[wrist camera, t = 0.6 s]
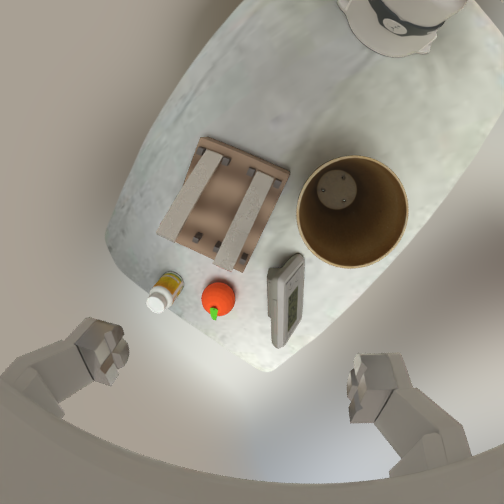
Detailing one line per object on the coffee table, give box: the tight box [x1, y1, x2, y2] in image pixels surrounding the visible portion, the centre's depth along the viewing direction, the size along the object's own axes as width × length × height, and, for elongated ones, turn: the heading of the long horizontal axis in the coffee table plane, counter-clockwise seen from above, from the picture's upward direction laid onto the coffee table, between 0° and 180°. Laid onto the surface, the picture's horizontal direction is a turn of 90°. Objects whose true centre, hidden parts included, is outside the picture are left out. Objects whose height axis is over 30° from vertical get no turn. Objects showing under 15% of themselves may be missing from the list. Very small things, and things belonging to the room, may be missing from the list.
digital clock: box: [267, 254, 304, 349], centre depth 52 cm, size 16×9×11 cm, turn 171°
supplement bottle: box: [147, 272, 184, 313], centre depth 56 cm, size 5×5×10 cm
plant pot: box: [296, 155, 408, 269], centre depth 40 cm, size 15×15×16 cm
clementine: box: [201, 282, 235, 320], centre depth 57 cm, size 8×7×7 cm
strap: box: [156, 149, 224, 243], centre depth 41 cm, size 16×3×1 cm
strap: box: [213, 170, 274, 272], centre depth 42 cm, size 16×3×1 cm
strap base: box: [176, 137, 290, 273], centre depth 48 cm, size 20×16×7 cm
